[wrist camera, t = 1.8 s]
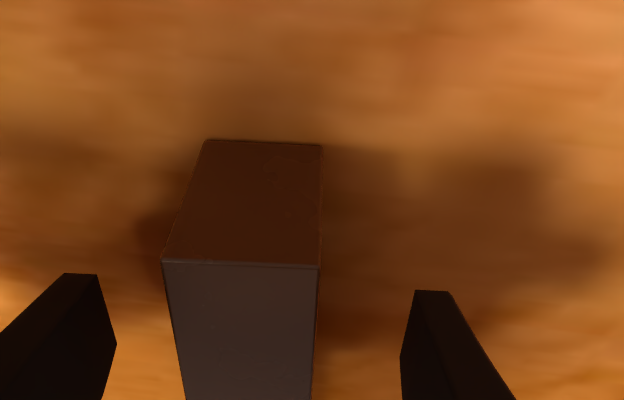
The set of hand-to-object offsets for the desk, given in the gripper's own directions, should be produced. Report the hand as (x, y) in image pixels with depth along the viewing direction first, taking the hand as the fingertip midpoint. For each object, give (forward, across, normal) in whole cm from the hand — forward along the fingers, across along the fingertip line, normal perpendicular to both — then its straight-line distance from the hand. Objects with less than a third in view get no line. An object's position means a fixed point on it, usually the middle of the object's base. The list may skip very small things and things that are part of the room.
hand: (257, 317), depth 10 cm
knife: (+2, 0, +5) cm, 5 cm away
